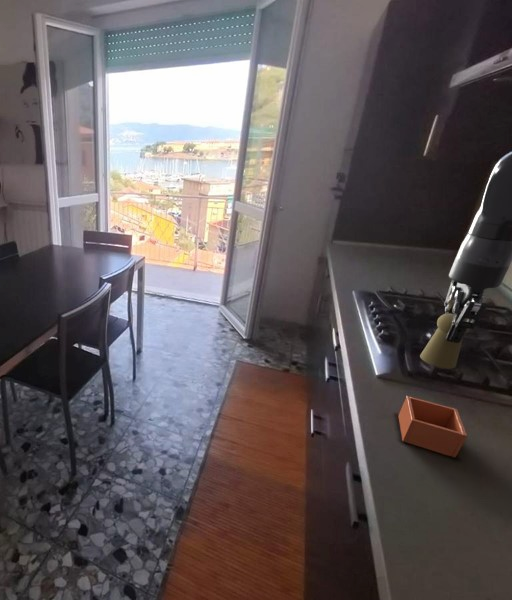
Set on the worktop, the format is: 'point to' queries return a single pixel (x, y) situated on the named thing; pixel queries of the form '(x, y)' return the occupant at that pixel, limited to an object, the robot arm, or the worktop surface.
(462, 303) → the robot arm
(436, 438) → the box
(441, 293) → the worktop surface
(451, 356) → the cork
